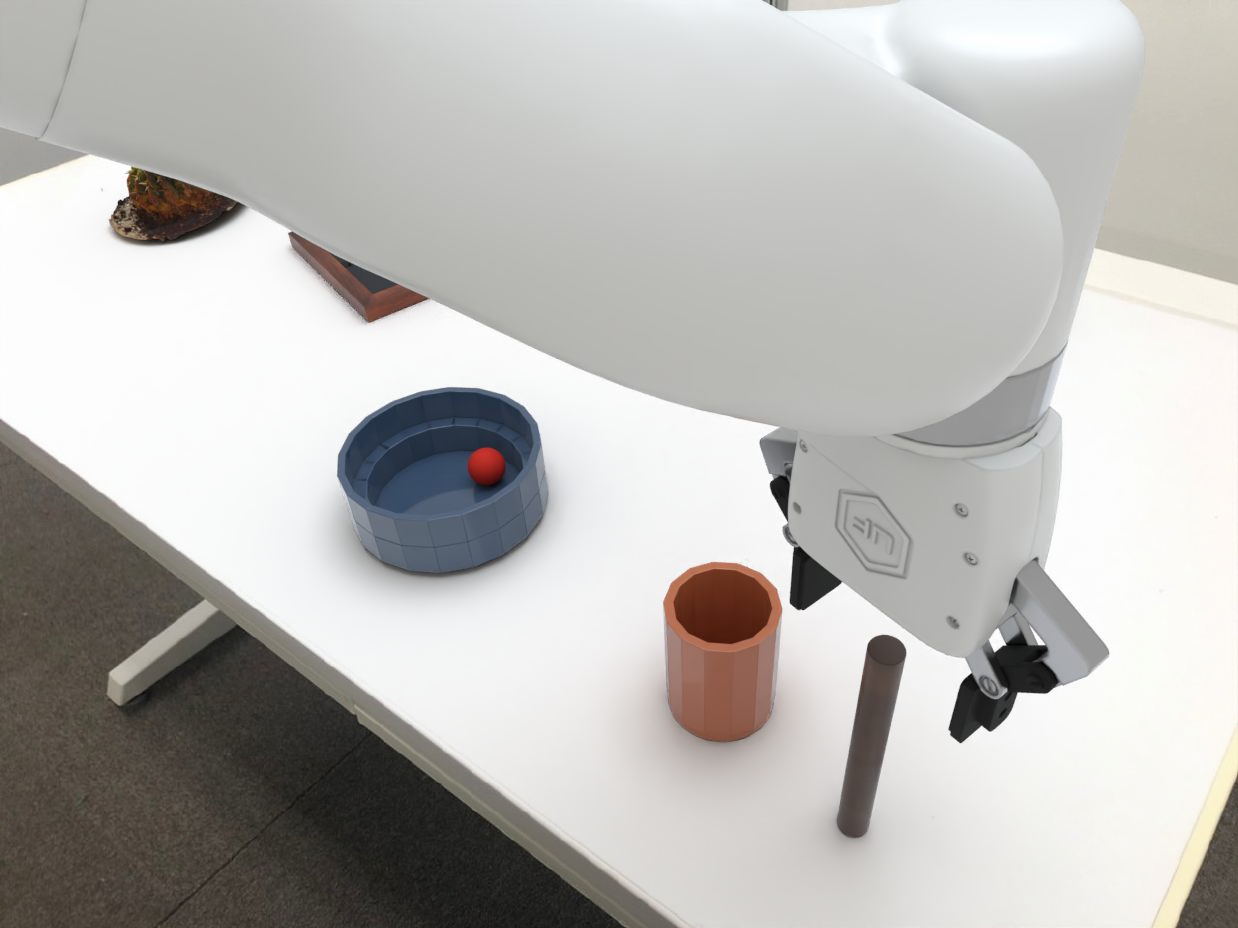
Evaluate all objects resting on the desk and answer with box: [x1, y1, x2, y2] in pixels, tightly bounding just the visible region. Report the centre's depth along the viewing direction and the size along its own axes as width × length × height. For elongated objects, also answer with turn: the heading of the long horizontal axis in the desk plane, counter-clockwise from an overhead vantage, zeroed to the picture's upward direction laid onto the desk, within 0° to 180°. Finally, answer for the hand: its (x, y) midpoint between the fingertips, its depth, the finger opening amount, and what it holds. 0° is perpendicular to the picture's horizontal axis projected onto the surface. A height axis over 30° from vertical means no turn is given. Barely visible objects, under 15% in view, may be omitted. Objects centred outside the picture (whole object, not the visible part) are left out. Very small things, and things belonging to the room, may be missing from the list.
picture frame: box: [287, 231, 429, 323], centre depth 110 cm, size 20×2×25 cm
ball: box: [468, 448, 506, 485], centre depth 79 cm, size 3×3×3 cm
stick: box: [836, 634, 908, 838], centre depth 52 cm, size 2×2×16 cm
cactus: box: [108, 166, 239, 243], centre depth 117 cm, size 17×16×10 cm
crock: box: [662, 561, 783, 743], centre depth 61 cm, size 7×7×9 cm
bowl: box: [336, 386, 549, 574], centre depth 77 cm, size 15×15×6 cm
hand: (891, 653), depth 47 cm, fingers open, 9 cm apart
